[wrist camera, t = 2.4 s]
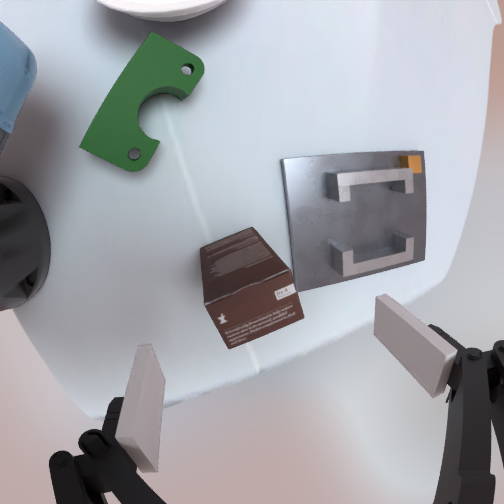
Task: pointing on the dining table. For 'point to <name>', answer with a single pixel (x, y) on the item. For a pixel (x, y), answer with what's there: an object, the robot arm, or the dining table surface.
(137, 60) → the clamp
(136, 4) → the bowl
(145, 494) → the robot arm
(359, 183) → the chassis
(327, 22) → the dining table surface
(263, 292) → the box
